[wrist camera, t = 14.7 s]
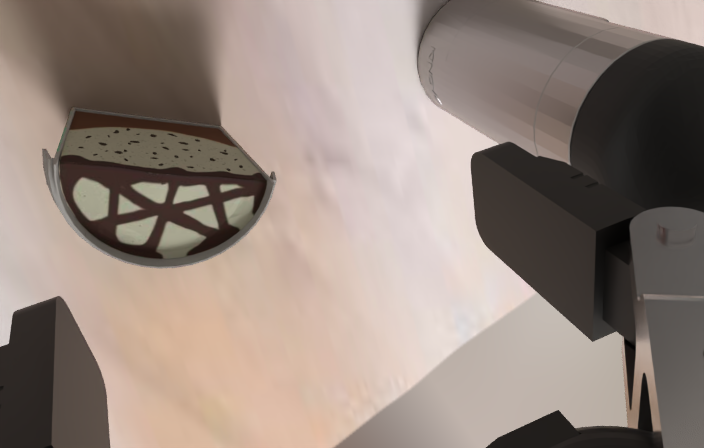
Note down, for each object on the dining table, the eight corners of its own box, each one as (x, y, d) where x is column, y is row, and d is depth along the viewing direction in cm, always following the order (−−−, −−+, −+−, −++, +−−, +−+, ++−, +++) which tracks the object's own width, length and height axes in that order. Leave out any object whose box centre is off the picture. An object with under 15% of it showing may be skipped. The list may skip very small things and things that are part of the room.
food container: (38, 196, 42) (34, 274, 33) (45, 103, 39) (41, 163, 31) (227, 209, 47) (263, 280, 39) (242, 128, 45) (284, 185, 37)
